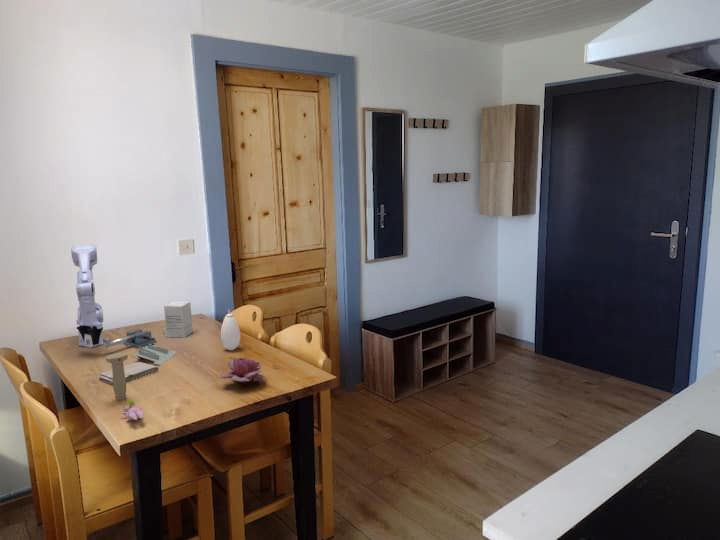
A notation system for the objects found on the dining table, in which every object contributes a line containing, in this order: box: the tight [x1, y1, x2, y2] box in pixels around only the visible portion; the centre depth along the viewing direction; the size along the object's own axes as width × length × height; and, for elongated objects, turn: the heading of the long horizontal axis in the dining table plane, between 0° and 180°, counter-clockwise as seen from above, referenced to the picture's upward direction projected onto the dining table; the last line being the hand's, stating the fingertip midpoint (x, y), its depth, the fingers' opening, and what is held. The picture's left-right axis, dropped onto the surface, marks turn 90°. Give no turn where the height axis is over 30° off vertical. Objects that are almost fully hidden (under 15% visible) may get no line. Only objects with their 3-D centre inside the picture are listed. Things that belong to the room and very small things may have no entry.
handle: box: [105, 352, 128, 401], centre depth 178 cm, size 5×6×15 cm
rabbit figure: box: [120, 398, 145, 421], centre depth 164 cm, size 6×6×15 cm
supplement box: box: [163, 300, 194, 338], centre depth 248 cm, size 9×9×15 cm
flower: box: [220, 356, 266, 385], centre depth 189 cm, size 15×15×10 cm
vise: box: [102, 328, 157, 348], centre depth 230 cm, size 16×20×6 cm
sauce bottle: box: [220, 309, 241, 351], centre depth 225 cm, size 8×8×18 cm
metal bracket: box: [133, 344, 179, 366], centre depth 218 cm, size 14×6×15 cm
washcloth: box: [98, 361, 160, 386], centre depth 200 cm, size 12×18×3 cm, turn 144°
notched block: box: [84, 333, 100, 347], centre depth 222 cm, size 5×3×4 cm, turn 59°
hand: (91, 343), depth 222 cm, fingers closed on notched block, 5 cm apart
